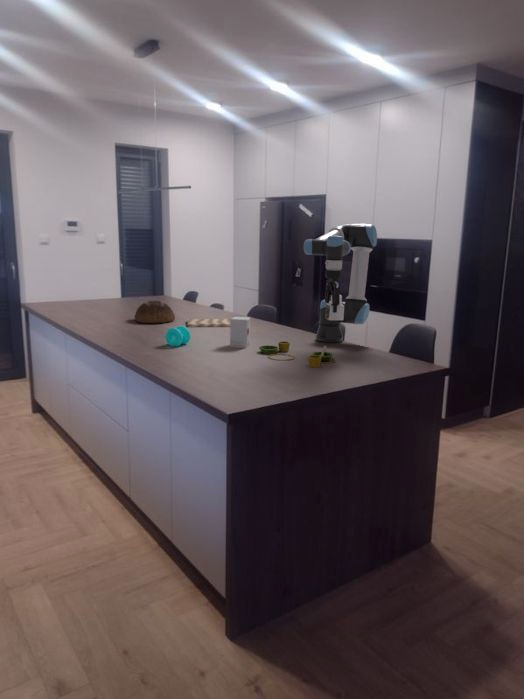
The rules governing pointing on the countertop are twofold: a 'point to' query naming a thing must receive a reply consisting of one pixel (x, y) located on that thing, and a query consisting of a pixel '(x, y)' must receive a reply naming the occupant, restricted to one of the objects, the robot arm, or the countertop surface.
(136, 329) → the countertop surface
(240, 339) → the supplement box
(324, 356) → the tableware set
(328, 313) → the medicine bottle
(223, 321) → the cutting board
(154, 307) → the bread
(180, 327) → the donuts
